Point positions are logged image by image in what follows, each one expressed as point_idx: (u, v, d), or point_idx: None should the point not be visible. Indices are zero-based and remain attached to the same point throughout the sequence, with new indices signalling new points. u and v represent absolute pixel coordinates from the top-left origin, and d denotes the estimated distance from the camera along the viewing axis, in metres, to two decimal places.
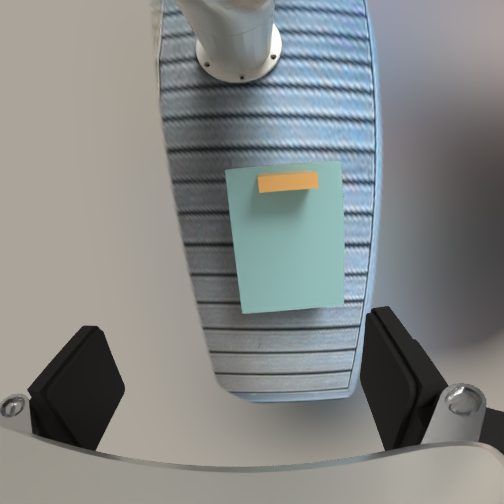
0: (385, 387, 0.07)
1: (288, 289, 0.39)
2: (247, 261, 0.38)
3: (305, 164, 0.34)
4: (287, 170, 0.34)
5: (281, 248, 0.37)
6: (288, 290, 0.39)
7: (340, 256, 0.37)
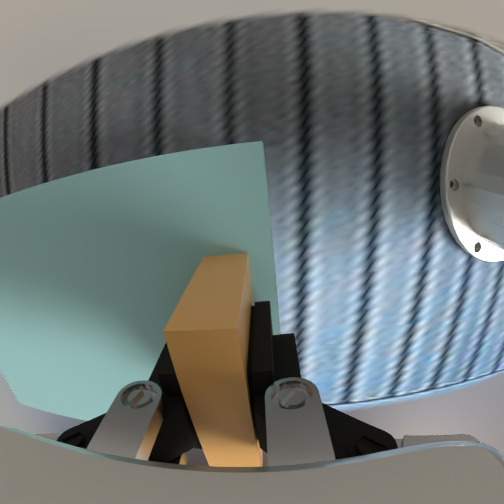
0: None
1: None
2: (16, 224, 0.11)
3: None
4: None
5: (58, 309, 0.12)
6: None
7: (85, 415, 0.14)
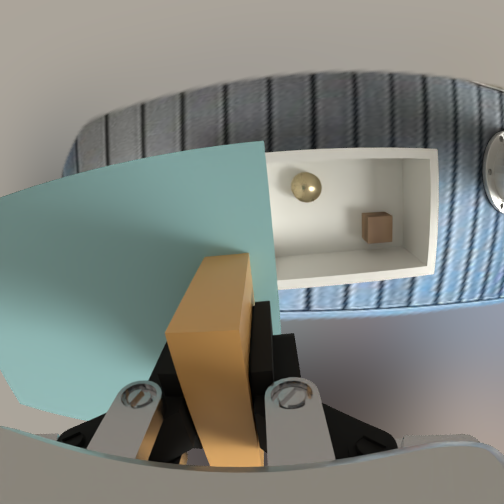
0: None
1: None
2: (16, 224, 0.11)
3: None
4: None
5: (58, 309, 0.12)
6: None
7: (86, 415, 0.14)
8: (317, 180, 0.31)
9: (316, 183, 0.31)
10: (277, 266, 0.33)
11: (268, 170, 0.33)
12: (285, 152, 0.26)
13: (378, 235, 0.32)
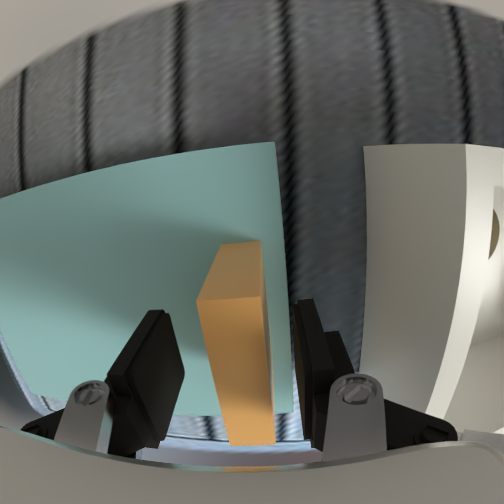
0: (299, 373, 0.08)
1: (15, 306, 0.14)
2: (39, 216, 0.12)
3: (286, 353, 0.14)
4: (271, 315, 0.13)
5: (79, 296, 0.13)
6: (14, 305, 0.14)
7: None
8: (495, 220, 0.11)
9: (493, 225, 0.11)
10: None
11: None
12: None
13: None
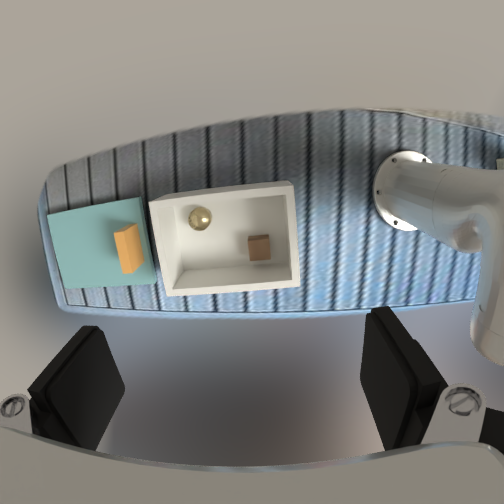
0: (385, 387, 0.07)
1: (66, 248, 0.45)
2: (79, 217, 0.44)
3: (148, 258, 0.45)
4: (142, 244, 0.45)
5: (90, 242, 0.45)
6: (66, 248, 0.45)
7: (93, 284, 0.47)
8: (206, 213, 0.42)
9: (206, 215, 0.43)
10: (180, 278, 0.44)
11: (173, 206, 0.44)
12: (169, 200, 0.37)
13: (258, 254, 0.43)
